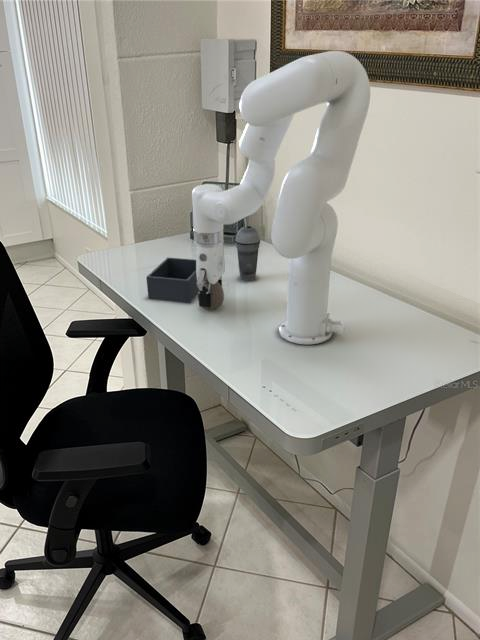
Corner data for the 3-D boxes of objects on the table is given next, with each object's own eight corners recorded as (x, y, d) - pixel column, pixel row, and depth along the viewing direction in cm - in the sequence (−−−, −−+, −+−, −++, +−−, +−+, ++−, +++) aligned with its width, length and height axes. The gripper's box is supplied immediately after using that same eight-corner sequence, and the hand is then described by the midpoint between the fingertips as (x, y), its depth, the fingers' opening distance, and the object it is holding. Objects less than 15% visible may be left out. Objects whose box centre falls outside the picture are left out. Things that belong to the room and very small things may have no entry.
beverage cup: (251, 285, 170) (251, 216, 159) (230, 280, 174) (229, 212, 163) (264, 276, 175) (265, 209, 164) (244, 272, 179) (243, 206, 168)
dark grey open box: (207, 281, 174) (206, 260, 170) (189, 303, 162) (188, 280, 158) (168, 278, 178) (167, 257, 174) (148, 298, 166) (146, 276, 162)
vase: (224, 312, 155) (223, 281, 151) (198, 313, 156) (197, 282, 151) (223, 301, 161) (223, 271, 156) (198, 302, 161) (197, 272, 157)
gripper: (211, 249, 140) (213, 315, 149) (233, 226, 153) (233, 288, 163) (182, 246, 142) (186, 311, 152) (206, 224, 156) (208, 285, 165)
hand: (210, 299), depth 157 cm, fingers open, 8 cm apart
